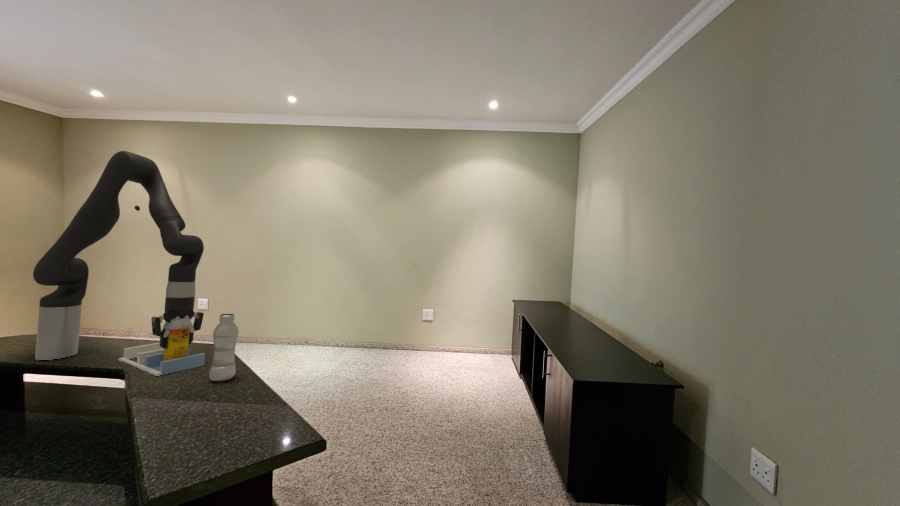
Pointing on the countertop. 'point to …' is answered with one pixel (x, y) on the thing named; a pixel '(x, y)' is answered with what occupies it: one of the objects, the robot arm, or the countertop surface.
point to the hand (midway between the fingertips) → (176, 345)
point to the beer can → (177, 339)
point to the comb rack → (160, 360)
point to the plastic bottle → (224, 349)
